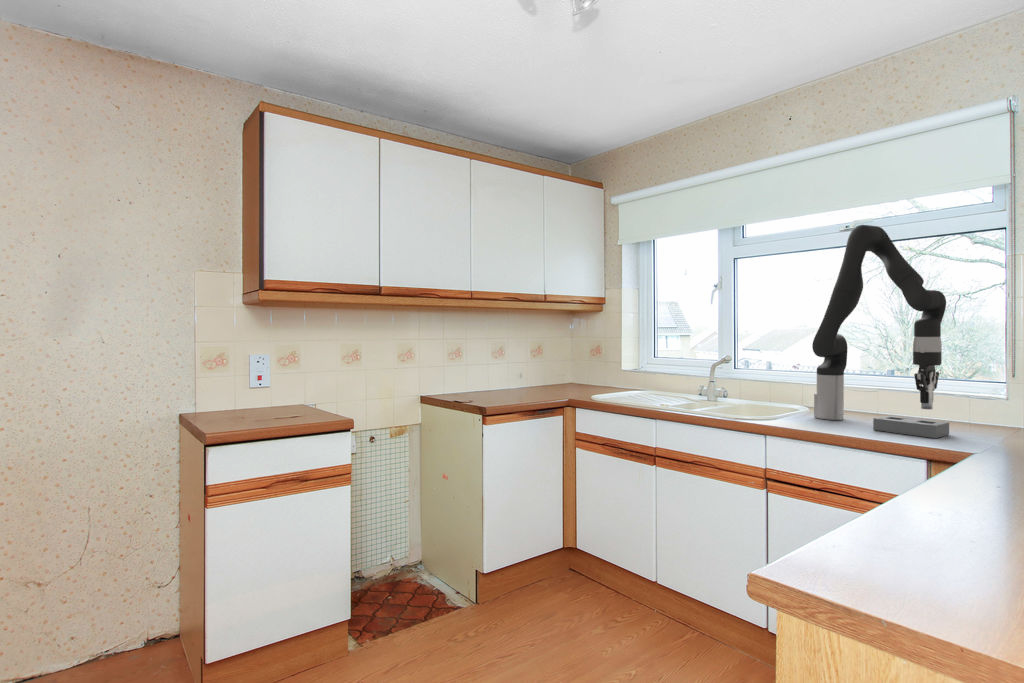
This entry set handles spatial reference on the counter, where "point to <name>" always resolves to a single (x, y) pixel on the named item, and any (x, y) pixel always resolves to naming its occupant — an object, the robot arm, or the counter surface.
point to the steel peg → (930, 404)
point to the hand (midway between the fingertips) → (926, 402)
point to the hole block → (911, 426)
